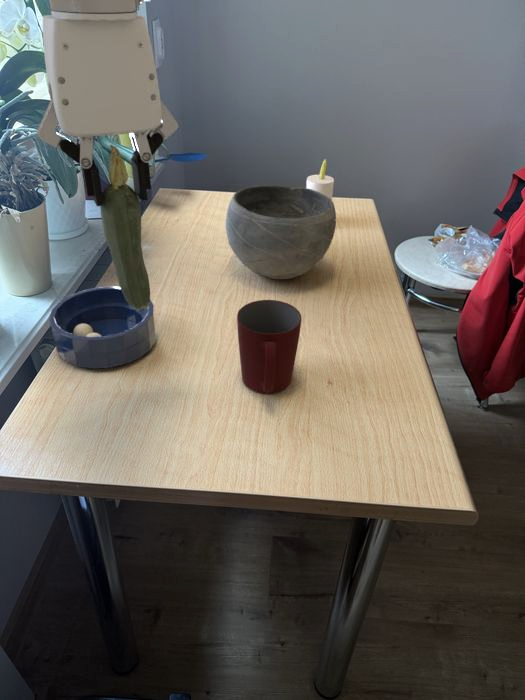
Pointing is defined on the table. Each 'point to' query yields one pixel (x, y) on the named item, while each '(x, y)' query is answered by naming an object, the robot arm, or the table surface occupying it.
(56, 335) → the mixing bowl
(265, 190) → the bowl
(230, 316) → the table surface
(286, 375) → the mug
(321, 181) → the candle
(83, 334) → the beige small ball
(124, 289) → the vegetable
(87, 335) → the dumpling
